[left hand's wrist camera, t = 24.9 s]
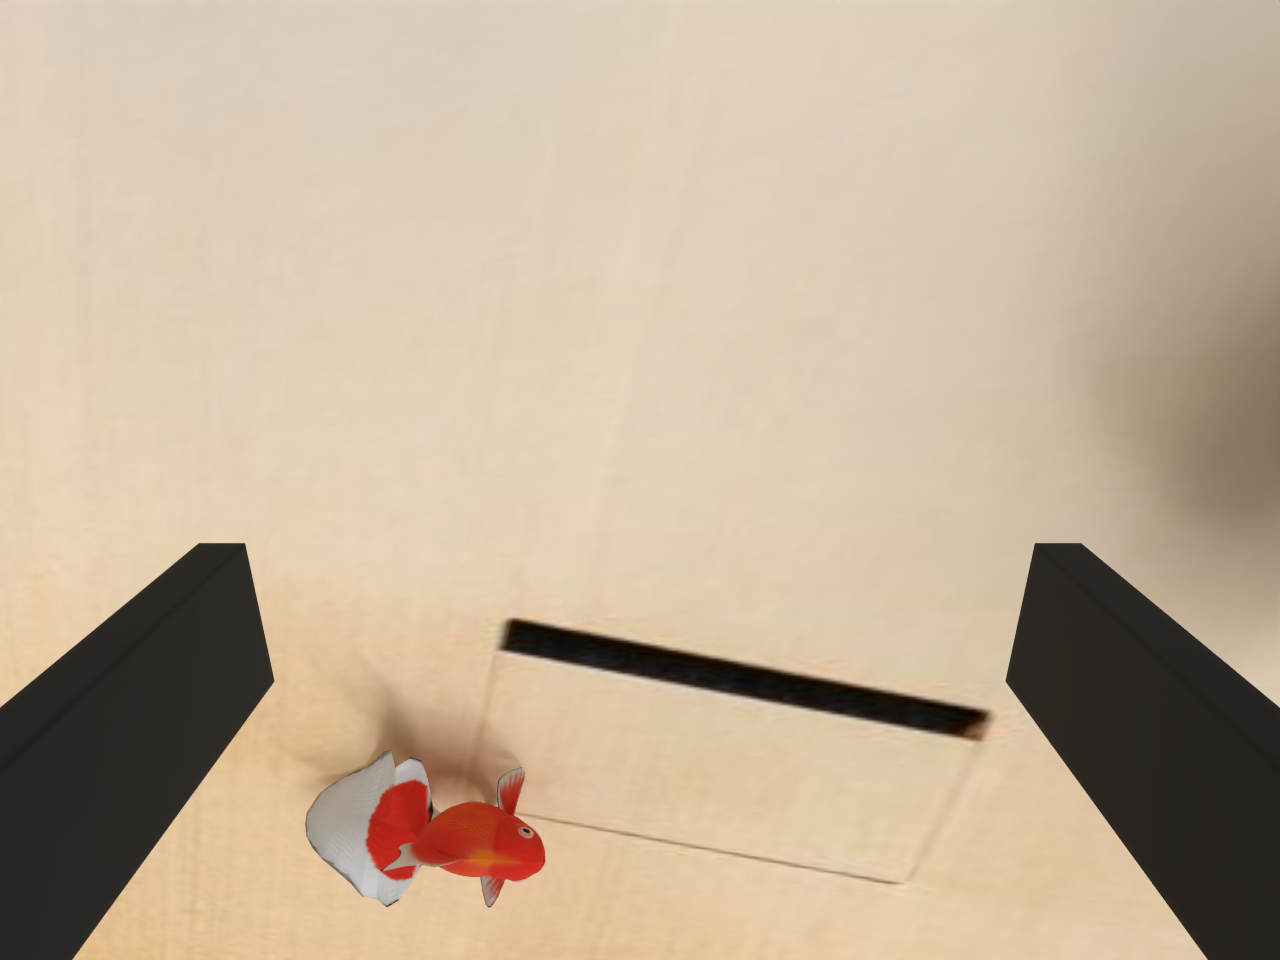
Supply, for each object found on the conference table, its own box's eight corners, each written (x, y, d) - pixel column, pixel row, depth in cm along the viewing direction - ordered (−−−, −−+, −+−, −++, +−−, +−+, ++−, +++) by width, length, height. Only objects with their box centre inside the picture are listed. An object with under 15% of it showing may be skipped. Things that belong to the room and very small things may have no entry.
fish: (522, 946, 51) (443, 1034, 41) (346, 820, 55) (238, 873, 46) (589, 801, 50) (526, 856, 41) (407, 686, 55) (312, 711, 46)
